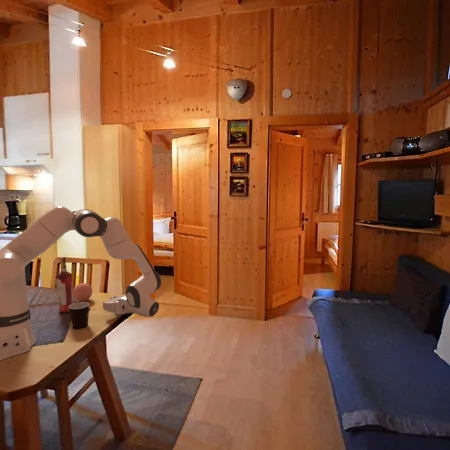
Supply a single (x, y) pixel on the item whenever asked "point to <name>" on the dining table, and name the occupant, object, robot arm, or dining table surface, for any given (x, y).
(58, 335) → the dining table surface
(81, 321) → the coffee mug
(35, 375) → the dining table surface
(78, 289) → the ball
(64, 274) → the liquor
